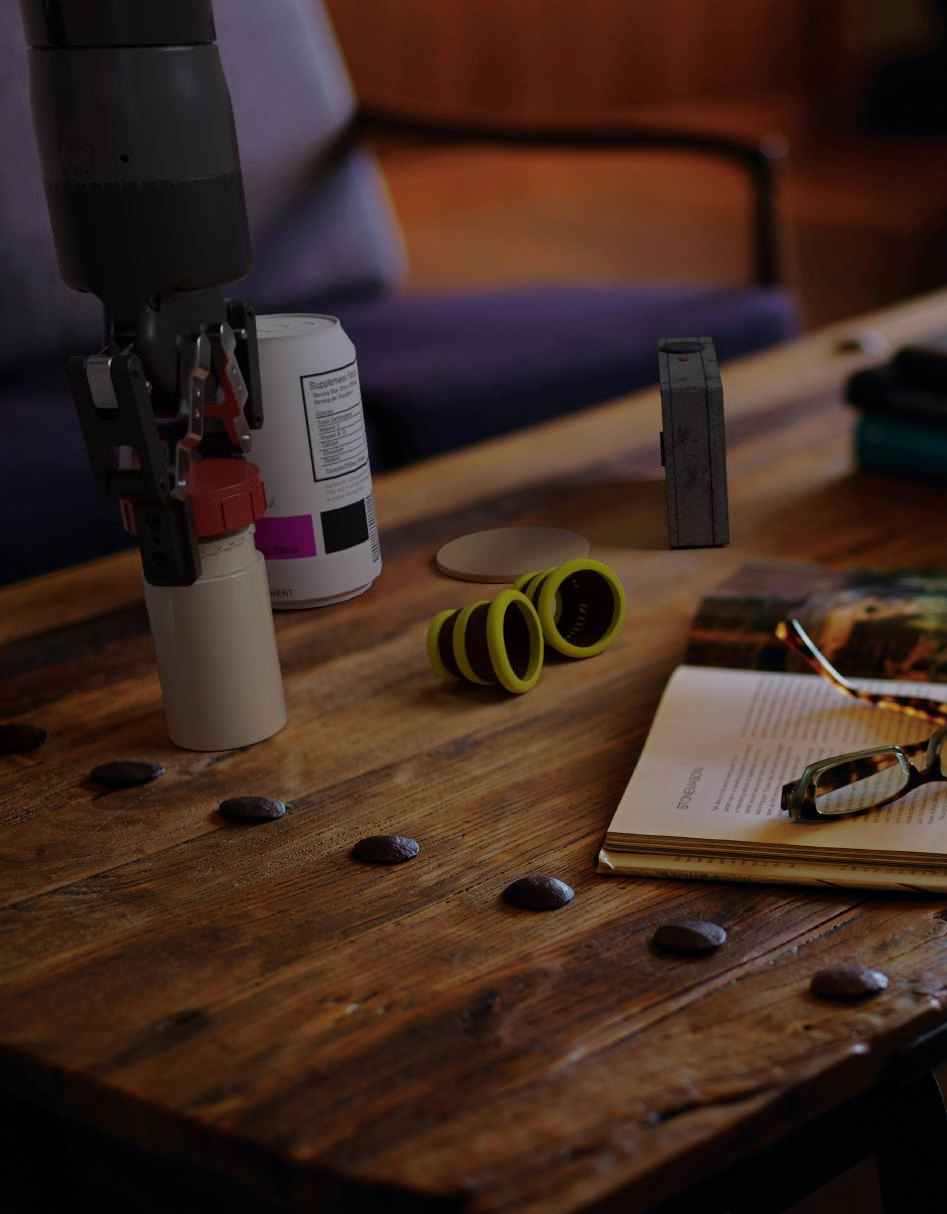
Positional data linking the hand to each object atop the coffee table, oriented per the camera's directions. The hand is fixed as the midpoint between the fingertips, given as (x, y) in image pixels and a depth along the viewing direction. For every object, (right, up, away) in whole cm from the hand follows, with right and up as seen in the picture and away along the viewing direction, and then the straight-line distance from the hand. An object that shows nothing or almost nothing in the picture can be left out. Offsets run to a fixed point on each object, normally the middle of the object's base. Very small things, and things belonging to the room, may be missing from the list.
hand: (204, 557), depth 72 cm
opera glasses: (+13, -5, +10) cm, 17 cm away
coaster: (+9, +1, +25) cm, 27 cm away
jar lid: (0, +3, -1) cm, 3 cm away
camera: (+19, +4, +34) cm, 39 cm away
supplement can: (-2, -1, +21) cm, 21 cm away
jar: (0, -8, +4) cm, 8 cm away
